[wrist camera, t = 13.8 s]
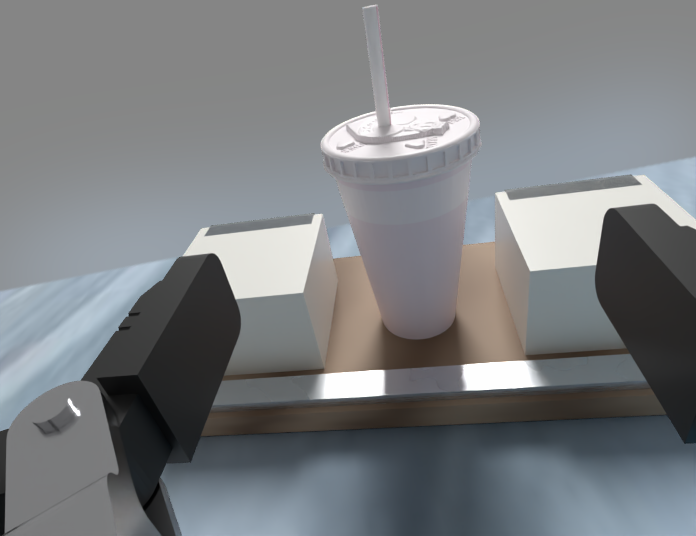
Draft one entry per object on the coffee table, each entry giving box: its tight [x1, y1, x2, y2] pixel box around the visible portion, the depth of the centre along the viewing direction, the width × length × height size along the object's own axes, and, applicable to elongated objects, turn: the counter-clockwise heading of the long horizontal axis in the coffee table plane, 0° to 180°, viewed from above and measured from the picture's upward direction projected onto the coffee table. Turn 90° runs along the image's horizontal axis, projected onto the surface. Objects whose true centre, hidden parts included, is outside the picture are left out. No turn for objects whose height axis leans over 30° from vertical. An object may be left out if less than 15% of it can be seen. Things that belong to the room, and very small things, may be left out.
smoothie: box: [321, 5, 482, 339], centre depth 20 cm, size 6×6×14 cm
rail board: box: [183, 175, 696, 436], centre depth 23 cm, size 28×12×6 cm, turn 86°
